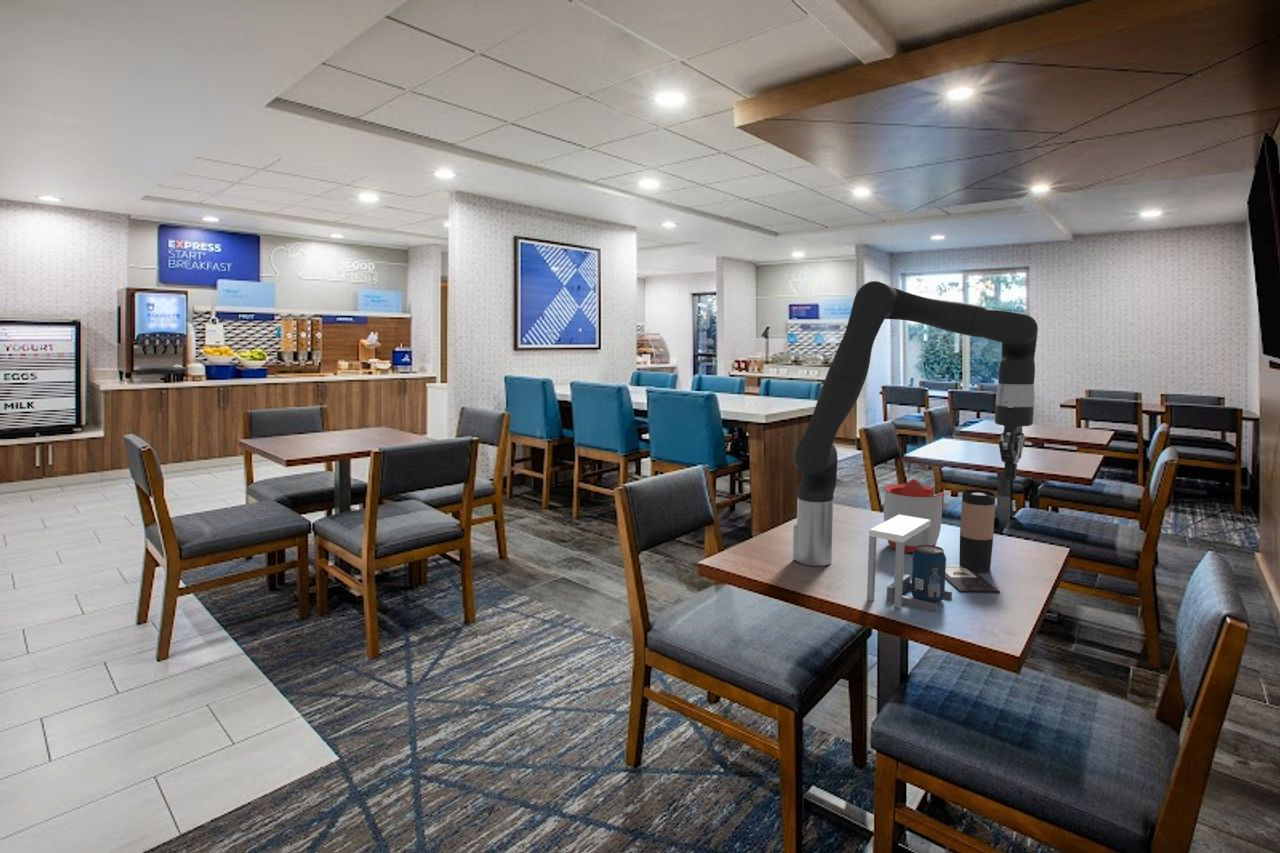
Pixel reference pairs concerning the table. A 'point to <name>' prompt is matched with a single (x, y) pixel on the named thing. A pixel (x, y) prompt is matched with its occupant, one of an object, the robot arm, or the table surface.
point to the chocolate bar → (968, 580)
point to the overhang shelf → (899, 558)
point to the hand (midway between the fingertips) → (1009, 479)
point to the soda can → (928, 573)
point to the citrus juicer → (914, 509)
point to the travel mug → (977, 530)
